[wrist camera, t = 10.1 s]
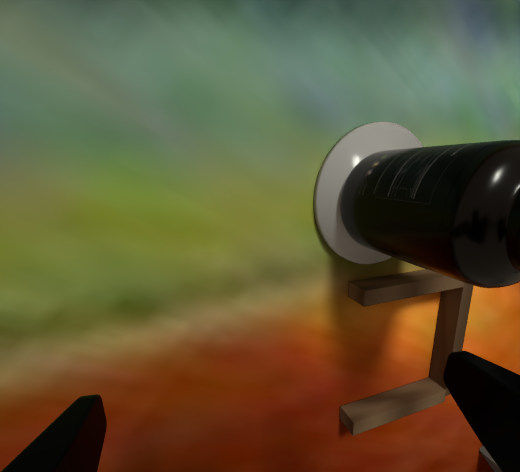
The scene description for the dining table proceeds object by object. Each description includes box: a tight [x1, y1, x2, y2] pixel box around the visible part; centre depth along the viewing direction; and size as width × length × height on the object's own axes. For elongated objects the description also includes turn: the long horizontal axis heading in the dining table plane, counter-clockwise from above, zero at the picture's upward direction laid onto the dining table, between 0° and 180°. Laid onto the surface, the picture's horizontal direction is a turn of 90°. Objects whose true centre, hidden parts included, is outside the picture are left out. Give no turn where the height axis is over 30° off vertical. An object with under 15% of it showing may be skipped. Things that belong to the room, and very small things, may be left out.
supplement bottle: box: [340, 140, 520, 288], centre depth 16 cm, size 7×7×12 cm
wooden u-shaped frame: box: [340, 269, 473, 435], centre depth 25 cm, size 11×12×2 cm
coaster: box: [314, 122, 423, 264], centre depth 21 cm, size 10×10×1 cm
